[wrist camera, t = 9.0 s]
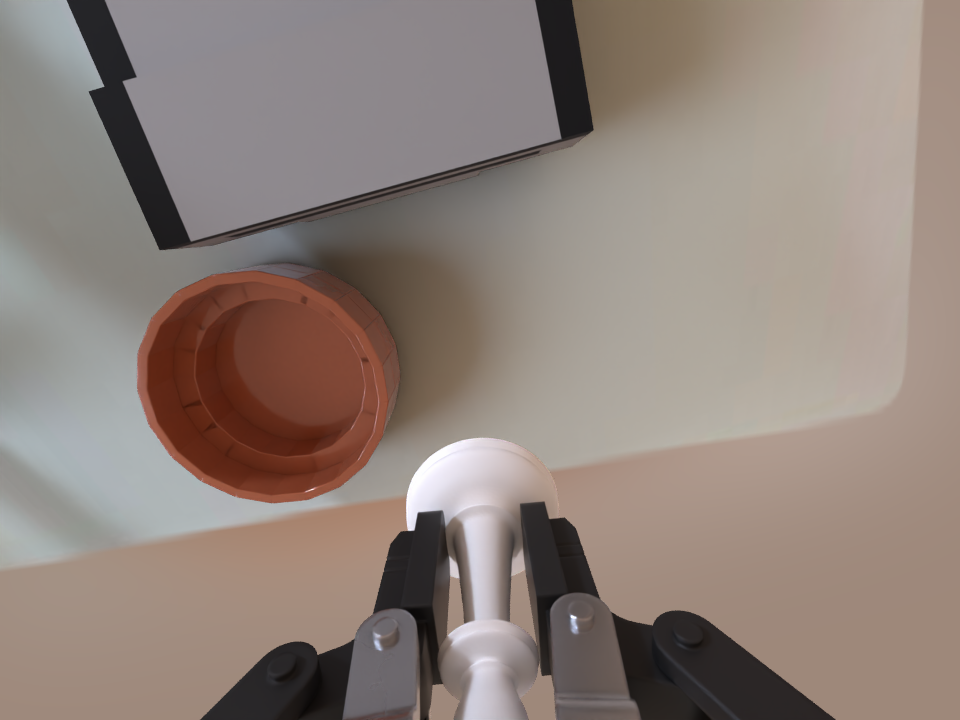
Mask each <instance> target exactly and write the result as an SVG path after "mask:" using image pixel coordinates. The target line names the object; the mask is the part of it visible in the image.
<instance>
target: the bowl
mask: <svg viewBox="0 0 960 720" xmlns="http://www.w3.org/2000/svg"><path fill="white" fill-rule="evenodd" d="M399 382H400V368H399V362H398V355H397V349H396V344H395V342H394V340H393V338H392V336H391V334H390V332H389V330H388V328H387V326H386V324H385V322H384V320H383V318H382V316H381V314H380V313H379V312H378V311H377V310H376V309H375V308H374V307H373V306H372V305H371V304H370V303H369V302H368V300H367V299H366V298H365V297H364V296H363V295H362V294H361V293H360V292H359V291H358V290H357V289H355V288H354V287H353V286H351V285H349V284H347V283H345V282H344V281H342V280H340V279H338V278H337V277H335V276H333V275H331V274H329V273H328V272H326V271H323V270H320V269H315V268H310V267H306V266H301V265H297V264H292V263H281V264H271V265H261V266H252V267H247V268H242V269H237V270H232V271H227V272H222V273H217V274H213V275H210V276H208V277H206V278H204V279H202V280H200V281H198V282H196V283H193V284H191V285H189V286H187V287H185V288H183V289H181V290H179V291H177V292H176V293H175V294H174V295H173V296H172V297H171V298H170V299H169V300H168V301H167V302H166V303H165V304H164V305H163V306H162V308H161V309H160V310H159V311H158V312H157V313H156V314H155V315H154V316H153V317H152V318H151V320H150V323H149V325H148V328H147V330H146V333H145V335H144V338H143V340H142V343H141V345H140V348H139V350H138V357H137V389H138V390H137V391H138V394H139V397H140V400H141V403H142V406H143V409H144V412H145V415H146V418H147V421H148V424H149V426H150V428H151V429H152V430H153V432H154V433H155V435H156V436H157V438H158V439H159V440H160V442H161V443H162V445H163V446H164V447H165V449H166V450H167V452H168V453H169V455H170V456H172V458H173V459H174V460H176V461H177V462H178V463H179V464H181V465H182V466H183V467H184V468H185V469H187V470H188V471H189V472H190V473H192V474H193V475H194V476H195V477H196V478H198V479H199V480H200V481H201V480H202V482H204V483H206V484H208V485H211V486H213V487H215V488H217V489H219V490H221V491H224V492H226V493H228V494H230V495H232V496H235V497H239V498H244V499H250V500H256V501H262V502H267V503H282V502H292V501H302V500H309V499H312V498H314V497H316V496H319V495H321V494H324V493H326V492H329V491H331V490H334V489H336V488H339V487H340V486H342V485H343V484H344V483H345V482H347V481H348V480H349V479H350V478H351V477H352V476H354V475H355V474H356V473H357V472H358V471H359V470H361V469H362V468H363V467H364V466H365V465H366V464H367V462H368V461H369V459H370V457H371V455H372V454H373V452H374V450H375V449H376V447H377V445H378V443H379V442H380V440H381V438H382V436H383V434H384V432H385V429H386V427H387V424H388V422H389V419H390V417H391V414H392V412H393V410H394V407H395V404H396V399H397V393H398V388H399Z"/></svg>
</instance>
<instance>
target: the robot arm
mask: <svg viewBox="0 0 960 720" xmlns="http://www.w3.org/2000/svg"><path fill="white" fill-rule="evenodd" d="M520 515H521V527H522V537H523V555H524V564H525V571H526V577H527V584H528V591H529V597H530V604H531V610H532V616H533V623H534V629H535V635H536V642H537V648H538V651H539V661H540V668H541V674H542V676H545V675H551V676H552V681H553V687H554V695H555V714H556V720H835V719H834V718H833V717H832V716H830V715H829V714H828V713H826V712H825V711H824V710H822V709H821V708H820V707H819V706H817V705H816V704H815V703H813V702H812V701H811V700H809V699H808V698H807V697H806V696H804V695H803V694H802V693H800V692H799V691H798V690H796V689H795V688H794V687H793V686H791V685H790V684H789V683H787V682H786V681H785V680H784V679H782V678H781V677H780V676H779V675H777V674H776V673H775V672H773V671H772V670H771V669H769V668H768V667H767V666H766V665H764V664H763V663H762V662H760V661H759V660H758V659H757V658H755V657H754V656H753V655H751V654H750V653H749V652H747V651H746V650H745V649H744V648H742V647H741V646H740V645H738V644H737V643H736V642H735V641H733V640H732V639H731V638H729V637H728V636H727V635H726V634H724V633H723V632H722V631H720V630H719V629H718V628H716V627H715V626H714V625H713V624H711V623H710V622H709V621H707V620H706V619H704V618H702V617H700V616H699V615H696V614H693V613H690V612H686V611H669V612H665V613H663V614H661V615H660V616H659V617H657V619H656V620H655V622H654V624H653V626H652V625H647V624H642V623H636V622H632V621H628V620H625V619H623V618H621V617H619V616H617V615H615V614H614V613H612V612H611V611H610V609H609V608H608V606H607V605H606V604H605V603H604V602H603V601H602V600H601V599H600V597H599V595H598V592H597V589H596V586H595V583H594V580H593V578H592V575H591V571H590V568H589V566H588V563H587V560H586V557H585V555H584V551H583V548H582V545H581V543H580V539H579V536H578V533H577V531H576V528H575V527H574V526H573V525H572V524H571V523H570V522H569V521H567V519H566V518H554V519H549V516H548V512H547V509H546V505H545V502H544V501H543V502H531V503H520ZM445 529H446V526H445V518H444V512H443V510H438V511H427V512H418V514H417V519H416V524H415V530H414V531H403V532H400V533H399V534H398V536H397V537H396V538H395V539H394V541H393V542H392V543H391V545H390V548H389V552H388V556H387V561H386V564H385V568H384V572H383V576H382V580H381V584H380V588H379V592H378V596H377V600H376V604H375V608H374V612H373V615H371V616H370V617H369V618H367V619H366V620H365V621H364V622H363V623H362V624H361V626H360V627H359V629H358V631H357V633H356V636H355V639H354V640H352V641H351V642H349V643H347V644H345V645H343V646H341V647H338V648H336V649H333V650H330V651H327V652H325V653H322V654H319V655H317V652H316V650H315V648H314V647H313V646H312V645H310V644H308V643H305V642H291V643H287V644H284V645H281V646H279V647H277V648H275V649H274V650H272V651H270V652H269V653H268V654H266V655H265V656H264V657H263V658H262V659H261V660H260V661H259V662H258V663H257V664H256V665H255V666H254V667H253V668H252V669H251V670H250V671H249V672H248V673H247V674H246V675H245V676H244V677H243V678H242V679H241V680H240V681H239V682H238V683H237V684H236V685H235V686H234V687H233V688H232V689H231V690H230V691H229V692H228V693H227V694H226V695H225V696H224V697H223V698H222V699H221V700H220V701H219V702H218V703H217V704H216V705H215V706H214V707H213V708H212V709H211V710H210V711H209V712H208V713H207V714H206V715H205V716H204V717H203V718H202V719H201V720H431V712H430V705H431V696H432V685H436V684H443V683H442V680H441V677H440V672H439V669H438V662H437V658H438V652H439V649H440V647H441V645H442V643H443V641H444V640H445V638H446V635H447V619H448V603H449V602H448V601H449V586H450V559H449V554H448V549H447V542H446V533H445Z"/></svg>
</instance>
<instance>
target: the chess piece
mask: <svg viewBox="0 0 960 720" xmlns="http://www.w3.org/2000/svg"><path fill="white" fill-rule="evenodd" d="M543 501H544V502H545V505H546V509H547V512H548V516H549V519H554V518H559V502H558V492H557V488H556V485H555V482H554V480H553V478H552V476H551V474H550V472H549V471H548V469H547V468H546V466H545V465H544V464H543V463H542V462H541V461H540V460H539V459H538V458H537V457H536V456H535V455H534V454H532V453H531V452H529V451H528V450H526V449H525V448H523V447H521V446H519V445H517V444H514V443H511V442H508V441H505V440H500V439H495V438H473V439H466V440H462V441H458V442H455V443H453V444H450V445H448V446H446V447H444V448H442V449H440V450H439V451H437V452H435V453H434V454H433V455H431V456H430V457H429V458H428V459H427V460H426V461H425V462H424V463H423V464H422V465H421V466H420V468H419V469H418V470H417V472H416V473H415V475H414V477H413V479H412V481H411V483H410V486H409V489H408V493H407V500H406V511H407V513H406V518H407V526H408V531H414V530H415V524H416V519H417V514H418V512H427V511H438V510H443V512H444V518H445V526H446V529H445V533H446V542H447V549H448V554H449V559H450V576H452V577H455V578H458V579H460V586H461V594H462V602H463V611H464V623H465V624H464V625H462V626H460V627H458V628H457V629H455V630H454V631H452V632H451V633H450V634H449V635H448V636H447V637H446V638H445V640H444V641H443V643H442V645H441V647H440V649H439V652H438V658H437V662H438V669H439V672H440V677H441V680H442V683H443V684H444V686H445V688H446V689H447V691H448V692H449V693H450V694H451V695H452V696H454V697H455V698H456V699H458V700H460V703H459V705H458V707H457V710H456V713H455V716H454V720H528V716H527V713H526V710H525V708H524V705H523V703H522V702H521V700H520V698H521V697H522V696H523V695H524V694H526V693H527V692H528V691H529V690H530V688H531V687H532V685H533V684H534V682H535V680H536V677H537V671H538V666H539V651H538V648H537V645H536V643H535V642H534V640H533V639H532V637H531V636H530V635H529V634H528V633H527V632H526V631H525V630H524V629H522V628H521V627H519V626H517V625H515V624H512V623H510V589H511V577H512V576H514V575H517V574H519V573H521V572H523V571H525V564H524V555H523V537H522V527H521V515H520V503H531V502H543Z"/></svg>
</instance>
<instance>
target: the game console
mask: <svg viewBox="0 0 960 720" xmlns="http://www.w3.org/2000/svg"><path fill="white" fill-rule="evenodd" d="M67 2H68V4H69V7H70V9H71V11H72V13H73V16H74V18H75V20H76V23H77V25H78V27H79V29H80V32H81V34H82V36H83V38H84V41H85V43H86V45H87V48H88V50H89V52H90V54H91V57H92V59H93V61H94V64H95V66H96V68H97V70H98V73H99V75H100V77H101V80H102V82H103V84H104V86H105V87H102V88H99V89H96V90H92V91H89V93H90V96H91V98H92V100H93V102H94V105H95V107H96V109H97V111H98V114H99V116H100V118H101V120H102V122H103V125H104V127H105V129H106V131H107V134H108V136H109V138H110V140H111V143H112V145H113V147H114V149H115V151H116V154H117V156H118V158H119V160H120V163H121V165H122V167H123V169H124V172H125V174H126V176H127V178H128V180H129V183H130V185H131V187H132V189H133V192H134V194H135V196H136V198H137V201H138V203H139V205H140V207H141V209H142V212H143V214H144V216H145V218H146V221H147V223H148V225H149V227H150V230H151V232H152V234H153V236H154V238H155V241H156V243H157V245H158V247H159V250H167V249H179V248H191V247H202V246H212V245H216V244H220V243H223V242H227V241H230V240H234V239H238V238H241V237H245V236H249V235H252V234H256V233H259V232H263V231H267V230H270V229H274V228H278V227H281V226H285V225H288V224H292V223H296V222H310V221H314V220H318V219H321V218H325V217H328V216H332V215H336V214H339V213H343V212H347V211H350V210H354V209H357V208H361V207H365V206H368V205H372V204H376V203H379V202H383V201H387V200H390V199H394V198H397V197H401V196H405V195H408V194H412V193H416V192H419V191H423V190H426V189H430V188H434V187H437V186H441V185H445V184H448V183H452V182H455V181H459V180H463V179H466V178H470V177H474V176H477V175H479V172H481V171H484V170H488V169H491V168H495V167H499V166H502V165H506V164H510V163H513V162H517V161H520V160H524V159H528V158H531V157H535V156H539V155H542V154H546V153H549V152H553V151H557V150H560V149H564V148H568V147H571V146H573V145H574V144H576V143H577V142H578V141H580V140H581V139H582V138H584V137H585V136H586V135H588V134H589V133H590V132H592V131H593V130H594V129H593V123H592V117H591V111H590V105H589V100H588V94H587V88H586V82H585V76H584V70H583V64H582V58H581V52H580V47H579V41H578V35H577V29H576V23H575V17H574V11H573V5H572V0H67Z"/></svg>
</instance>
